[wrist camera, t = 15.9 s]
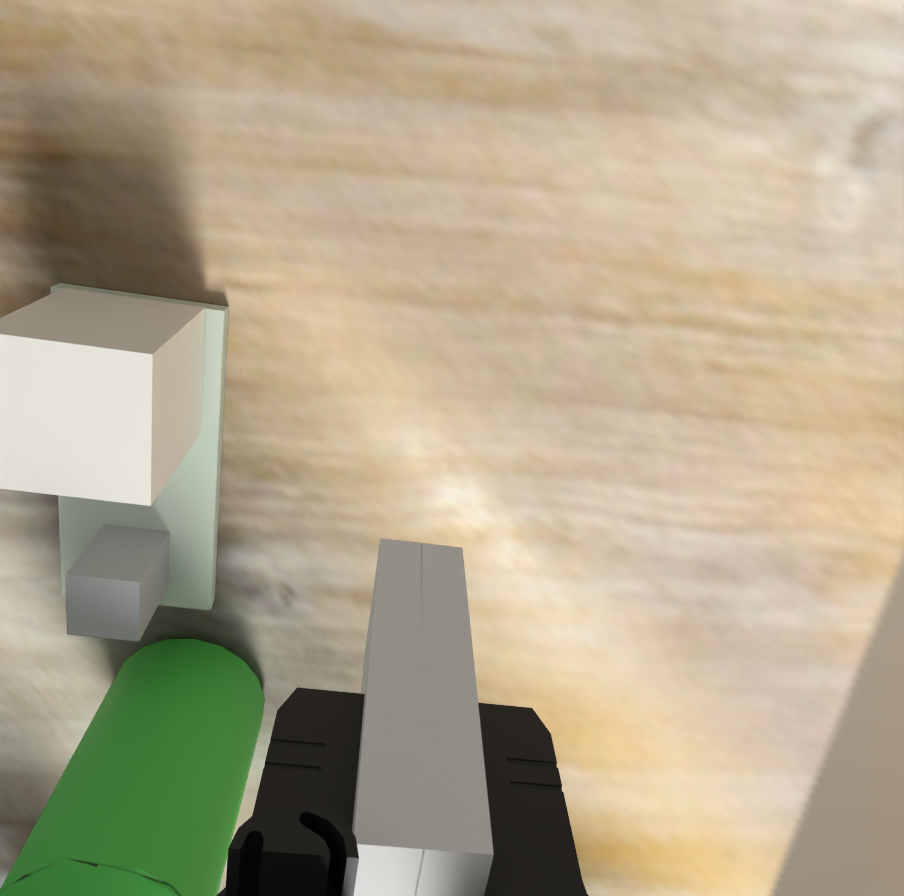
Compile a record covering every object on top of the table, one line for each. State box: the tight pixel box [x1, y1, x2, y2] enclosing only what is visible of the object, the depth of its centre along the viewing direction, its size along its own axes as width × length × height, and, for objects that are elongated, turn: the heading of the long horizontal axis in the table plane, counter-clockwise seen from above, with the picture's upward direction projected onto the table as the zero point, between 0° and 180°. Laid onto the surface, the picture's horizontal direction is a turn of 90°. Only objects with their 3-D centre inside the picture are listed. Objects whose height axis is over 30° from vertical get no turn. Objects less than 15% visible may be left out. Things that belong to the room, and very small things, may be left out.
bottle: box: [0, 639, 265, 896], centre depth 36 cm, size 9×9×25 cm
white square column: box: [0, 288, 205, 506], centre depth 34 cm, size 6×6×8 cm
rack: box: [50, 283, 229, 642], centre depth 39 cm, size 8×17×6 cm, turn 171°
